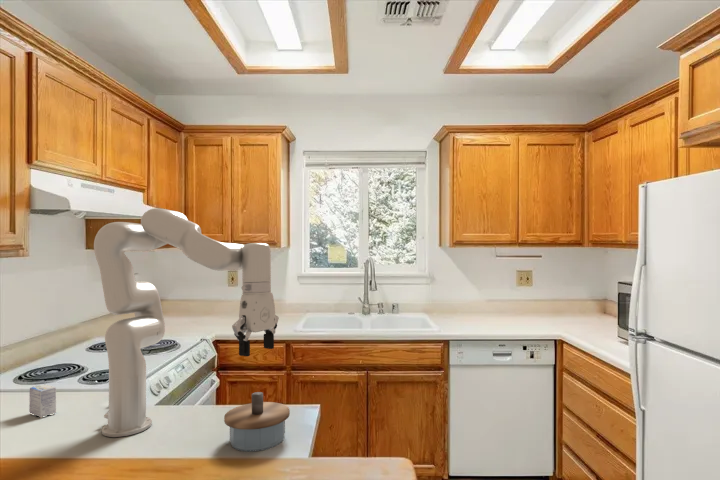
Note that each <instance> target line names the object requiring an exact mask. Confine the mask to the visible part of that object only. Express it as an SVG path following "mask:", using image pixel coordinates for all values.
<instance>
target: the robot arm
mask: <svg viewBox="0 0 720 480" xmlns="http://www.w3.org/2000/svg"><path fill="white" fill-rule="evenodd" d="M166 245H170V246H173V247H175V248H176V249H179V250H181V252H182V253H183V254H184V255H185V256H186V257H187V258H188V259H190V260H191V261H193V262H194V263H197V264H199V265H201V266H203V267H205V268H208V269H210V270H214V271H217V272H222V271H240V270H242V274H241V275H242V285H241V290H242V292H241V293H242V294H241V297H240V303H239V312H238V319H237V320H236V322H234V323H233V324H232V326H231V328H232V331H233V333H234V336H235V337H236V340H237V341H238V356H241V357H250V354H251V342H250V340H249V338H250V336H251V334H252V333H260V332H263V331H264V333H263V348H264V349H267V350H274V349H275V334H276V329H277V327H278V322H279V320H280V319H279V318H280V317H279V316H278V315H276V307H275V300H274V295H273V292H271V291H272V289H271V288H272V284H271V283H272V279H271V278H272V277H271V276H272V275H271V273H272V271H271V269H272V267H271V264H272V263H271V262H272V261H271V258H272V257H271V256H272V254H271V252H272V251H271V246H270V245H269V244H268V243H264V242H263V243H262V242H259V243H258V242H254V243H253V242H252V243H246V244H243V243H234V242H233V243H232V242H221V241H218V240H216V239H213V238H211V237H209V236H207V235H205V234H202V228H201V227H200V225H198V224H197V223H195V222H193V221H191V220H189V219H188V218H187V216H186V215H185V214H184V213H182V212H180V211H176V210H170V209H167V208H159V207H158V208H157V207H156V208H151V209H148V210H147V211H145V212H144V213H143V214H142V216H141V218H140V223H136V222H128V221H127V222H126V221H114V222H110V223H109V222H108V223H107V224H105V225H103V226H102V227H101V228H100V229H99V230H98V231H97V233H96V235H95V237H94V241H93V251H94V255H95V259H96V263H97V265H98V268H99V272H100V279H101V285H102V286H101V287H102V291H103V299H104V302H105V306H106V309H107V311H108V312H109V313H110V314H112V315H117V316H119V315H120V316H121V315H129V314H134V316H133V317H127V318H122V319H120V320H117V321H115V322H113V323H112V324H110V326H109V327H108V328H107V329H106V332H105V334H104V343H105V348H106V352H107V359H108V413H105V414H103V418H104V419H106V420H107V423H106V424H105V425H104V426H103V427H102V428H101V434H102V435H103V436H105V437H107V438H119V437H120V438H121V437H127V436H131V435H135V434H138V433H141V432H143V431H146V430H147V429H149V428H150V427H151V426H152V423H153V419H152V418H150V417H148V416H147V364H146V359H145V357H144V354H143V353H142V352H143V351H142V349H144V348H146V347H151V346H155V345H156V344H158V343H159V342H160V341H161V340H162V339H163V338H164V336H165V332H166V325H165V317H164V313H163V312H164V311H163V307H162V301H161V297H160V293H159V290H158V289H157V287H156V286H155V284H153V283H152V282H149V281H146V280H145V281H144V280H138V281H137V280H136V277H135V271H134V267H133V264H132V262H131V261H130V259H129V258H128V256H127V255H126V254H125V252H150V251H154V250H156V249H157V250H158V249H159V248H161V247H163V246H166Z"/></svg>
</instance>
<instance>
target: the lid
mask: <svg viewBox="0 0 720 480" xmlns="http://www.w3.org/2000/svg"><path fill="white" fill-rule="evenodd" d="M290 411H291V409H290V408H289V406H287V405H286V404H283V403H282V402H280V403H279V402H273V401H264V392H261V391H257V392H252V393H251V403H246V404H242V405H239V406H236V407H233V408H232V409H229V410H228V411H227V412H225V414H224V418H223V421H224V424H225V425H226V426H228V427H229V428H230V427H232V428H236V429H260V428H266V427H270V426H274V425H277V424H279V423H281V422H283V421H285V422H286V420H287V419H288V418H289V417H290V413H291V412H290Z"/></svg>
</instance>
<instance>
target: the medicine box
mask: <svg viewBox="0 0 720 480" xmlns="http://www.w3.org/2000/svg"><path fill="white" fill-rule="evenodd" d="M28 407H29V408H28V409H29V412H30V413H32V414H34V415H37V416H39V417H43V416H47V415H50V414H53V413H56V414H57V387H55V386H53V385H48V384H40V385H36V386H32V387H30V388H29V406H28ZM39 417H38V418H39Z"/></svg>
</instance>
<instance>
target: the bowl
mask: <svg viewBox="0 0 720 480" xmlns="http://www.w3.org/2000/svg"><path fill="white" fill-rule="evenodd" d="M285 435H286V420H285V421H283V422H281V423H279V424H277V425H274V426H270V427H266V428H260V429H236V428H232V427H229V441H230V446H231V447H232V448H234V449H235V450H237V451H240V452H241V451H242V452H260V451H265V450H268V449H273V448H274V447H276V446H277V447H278V446H279V445H280V444H282V443H283V441H284V440H285Z"/></svg>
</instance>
